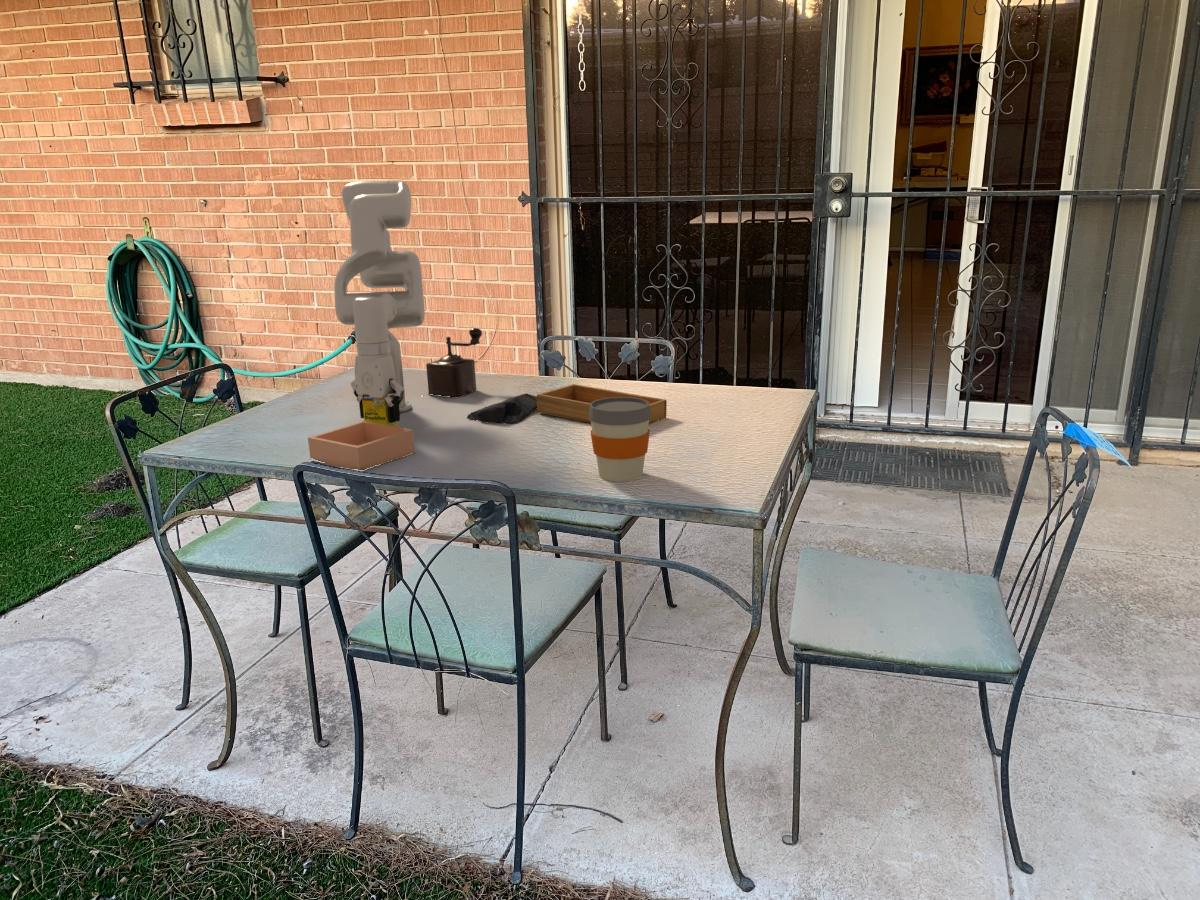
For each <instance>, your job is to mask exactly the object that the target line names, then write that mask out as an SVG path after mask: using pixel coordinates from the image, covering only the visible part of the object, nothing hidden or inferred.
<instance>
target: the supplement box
mask: <svg viewBox="0 0 1200 900" xmlns="http://www.w3.org/2000/svg"><path fill="white" fill-rule="evenodd" d="M388 394H389V393H388ZM390 398H391V400H393V398H392V397H390ZM362 403H363V413H364V418H363V421H367V422H372V423H378V424H383V425H389V426H394V427H398V421H397V422H393V423H389V420H388V410H387V407H388V406H389V404H388V403H387V401H386V400H385V398H382V399H377V398H372V397H370V396H369V395H368V394H362Z"/></svg>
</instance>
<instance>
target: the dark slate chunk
mask: <svg viewBox="0 0 1200 900" xmlns="http://www.w3.org/2000/svg"><path fill="white" fill-rule="evenodd" d="M535 409H536V410H537V395H533V394H529V393H527V392H526V393H523V394H519V395H515V396H513V397H509V398H507V399H505V400H502V401H501V402H497V403H493V404H491V405H488V406H485V407H482V408H480V409H478V410H475V411H473V412H472V411H471V412H470V413H469V414H467V415H466V419H468V421H473V420H474V421H475V422H481V421H482V422H481V423H486V422H488V423H489V424H501V423H502V424H504V423H506V425H507V424H511V423H512V424H513V423H515V424H517V423H518V422H519V421H522V420H523V418H524V419H525V418H527V417H529V415H530V414H531V413H532V411H533V412H534V411H536V410H535ZM526 416H527V417H526ZM521 419H522V420H521ZM476 420H478V421H476ZM512 424H511V425H512Z"/></svg>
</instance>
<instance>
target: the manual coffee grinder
mask: <svg viewBox="0 0 1200 900" xmlns="http://www.w3.org/2000/svg"><path fill="white" fill-rule="evenodd" d="M468 333H469V334H468V335H469V336H470V338H471V339H470V341H469V342H468V343H467V342H465V343H464V342H463V343H462V342H452V341H451V339H452V338H451V337H450V336H446V338H445V339H446V341H445V343H446V346H447V354H446V355H443V356H442V357H440V358H438V360H434V361H431V362H429V363H428V362H427V363H426V365H425V366H426V377H427V379H426V380H427V389H428V395H429V394H433V395H441V396H450V397H449V398H453V397H459V398H461V397H460V396H462V397H464V396H466V394H467V395H469V394H471V393H473V392H475V391H477V390H478V388H477V380H476V365H475V359H472V358H463V357H462V356H461V354H459V355H458V354H453V353H452V347H457V346H459V347H471V346H474V347H475V346H476V345H479V344H480V343H481V342H480V338H481V337H482V335H483V331H482V329H480V328H477V327H472V328H470V329H469V331H468ZM451 346H452V347H451ZM476 389H477V390H476ZM472 391H473V392H472ZM470 392H471V393H470ZM463 395H464V396H463ZM441 396H440V397H441Z"/></svg>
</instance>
